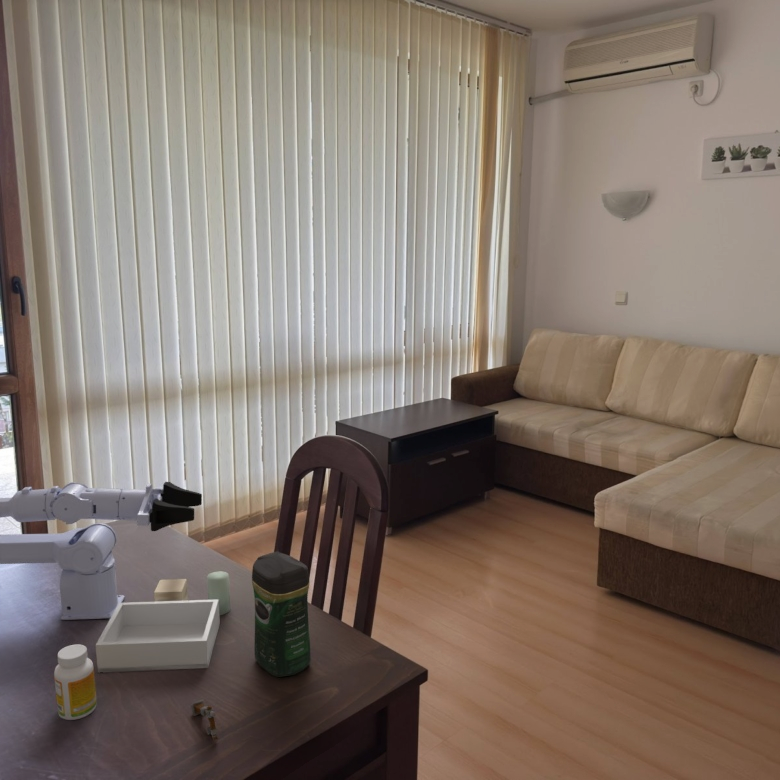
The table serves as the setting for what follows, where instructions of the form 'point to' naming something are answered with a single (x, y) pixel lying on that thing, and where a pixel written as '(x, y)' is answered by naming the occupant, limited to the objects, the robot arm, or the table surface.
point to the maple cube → (171, 590)
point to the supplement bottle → (74, 683)
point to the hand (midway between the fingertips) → (197, 506)
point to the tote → (159, 636)
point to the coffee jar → (281, 614)
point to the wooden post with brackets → (206, 711)
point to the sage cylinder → (219, 590)
